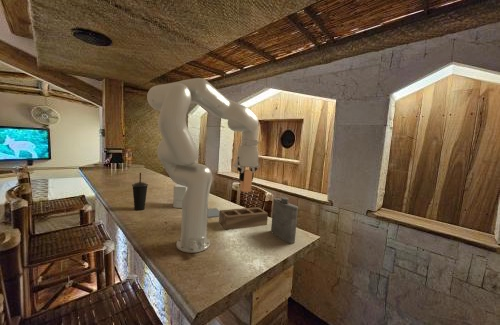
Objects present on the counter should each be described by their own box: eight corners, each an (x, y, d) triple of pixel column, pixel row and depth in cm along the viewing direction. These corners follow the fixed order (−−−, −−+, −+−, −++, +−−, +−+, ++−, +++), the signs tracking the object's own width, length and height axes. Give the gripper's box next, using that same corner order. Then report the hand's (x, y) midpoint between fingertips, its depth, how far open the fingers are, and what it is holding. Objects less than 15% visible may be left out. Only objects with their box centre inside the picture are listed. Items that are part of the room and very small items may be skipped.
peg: (250, 191, 108) (252, 171, 107) (243, 192, 106) (244, 171, 105) (247, 189, 111) (248, 170, 110) (239, 190, 109) (241, 170, 108)
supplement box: (189, 205, 133) (190, 184, 131) (185, 208, 125) (186, 187, 124) (178, 203, 133) (178, 183, 132) (172, 207, 126) (173, 185, 125)
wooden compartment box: (266, 224, 111) (267, 213, 111) (226, 230, 101) (227, 217, 100) (257, 217, 120) (258, 207, 119) (218, 222, 110) (219, 210, 109)
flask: (289, 244, 92) (293, 202, 90) (268, 231, 103) (271, 193, 101) (296, 242, 94) (300, 201, 92) (274, 230, 105) (277, 193, 103)
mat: (223, 216, 118) (223, 215, 118) (201, 218, 113) (201, 217, 113) (216, 209, 129) (216, 208, 129) (195, 210, 123) (195, 209, 123)
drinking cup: (129, 211, 115) (130, 173, 112) (133, 207, 122) (134, 171, 120) (145, 211, 117) (146, 174, 114) (148, 206, 124) (149, 171, 122)
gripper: (260, 144, 113) (257, 179, 115) (229, 141, 106) (227, 179, 107) (267, 144, 107) (264, 182, 109) (236, 142, 99) (233, 182, 101)
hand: (246, 180), depth 108 cm, fingers closed on peg, 4 cm apart
